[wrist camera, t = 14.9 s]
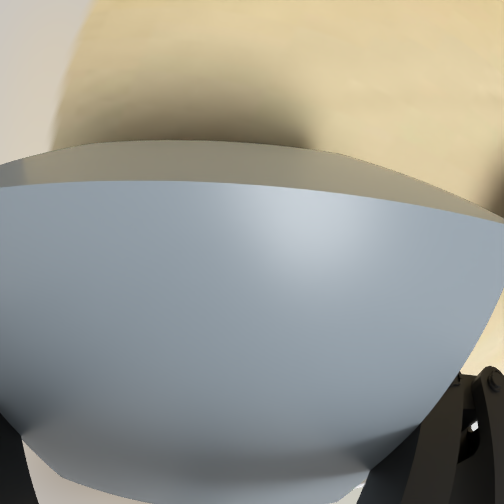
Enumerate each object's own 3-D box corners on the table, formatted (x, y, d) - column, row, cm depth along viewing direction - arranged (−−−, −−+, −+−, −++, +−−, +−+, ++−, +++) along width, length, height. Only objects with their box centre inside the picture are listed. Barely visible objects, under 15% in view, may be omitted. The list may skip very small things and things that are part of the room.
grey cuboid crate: (300, 350, 15) (336, 501, 7) (115, 338, 14) (61, 477, 6) (338, 153, 11) (523, 229, 3) (91, 143, 10) (-92, 203, 2)
